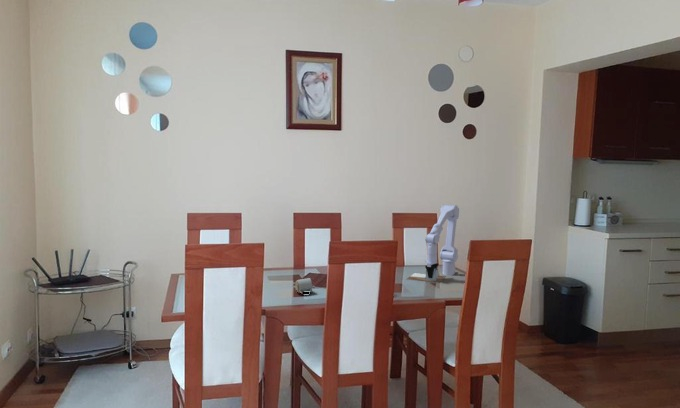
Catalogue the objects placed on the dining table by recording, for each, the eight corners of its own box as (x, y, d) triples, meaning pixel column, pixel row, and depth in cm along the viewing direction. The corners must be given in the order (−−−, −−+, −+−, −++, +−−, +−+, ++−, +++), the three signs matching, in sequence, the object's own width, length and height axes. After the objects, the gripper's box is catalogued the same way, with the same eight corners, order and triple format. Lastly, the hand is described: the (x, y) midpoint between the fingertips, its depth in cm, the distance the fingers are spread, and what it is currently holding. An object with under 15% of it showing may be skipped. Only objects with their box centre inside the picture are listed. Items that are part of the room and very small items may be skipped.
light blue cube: (428, 278, 283) (428, 268, 282) (437, 279, 280) (437, 269, 280) (425, 280, 278) (425, 270, 277) (435, 281, 275) (435, 271, 275)
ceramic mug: (294, 291, 256) (294, 277, 255) (309, 290, 259) (309, 276, 258) (299, 297, 246) (299, 282, 245) (314, 295, 249) (314, 281, 248)
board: (414, 274, 296) (414, 273, 296) (446, 277, 287) (446, 276, 287) (405, 281, 279) (405, 279, 279) (439, 284, 271) (439, 282, 271)
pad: (414, 273, 294) (414, 273, 294) (428, 275, 290) (428, 274, 290) (410, 276, 286) (410, 276, 286) (424, 278, 282) (424, 277, 282)
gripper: (428, 251, 286) (428, 273, 287) (422, 255, 273) (421, 278, 274) (440, 252, 283) (439, 274, 284) (434, 256, 270) (433, 279, 271)
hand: (431, 276), depth 279 cm, fingers closed on light blue cube, 6 cm apart
